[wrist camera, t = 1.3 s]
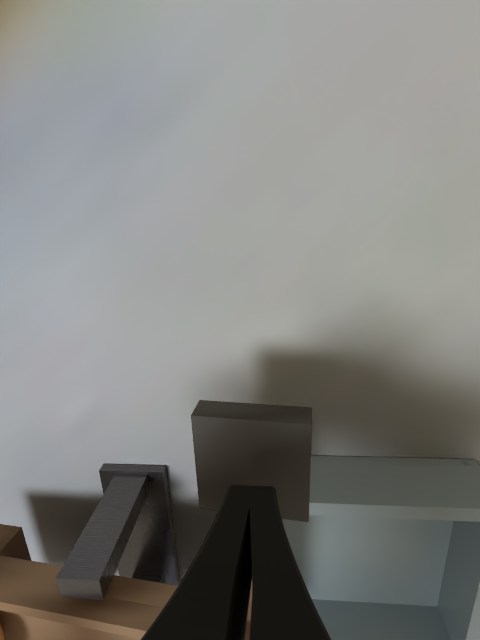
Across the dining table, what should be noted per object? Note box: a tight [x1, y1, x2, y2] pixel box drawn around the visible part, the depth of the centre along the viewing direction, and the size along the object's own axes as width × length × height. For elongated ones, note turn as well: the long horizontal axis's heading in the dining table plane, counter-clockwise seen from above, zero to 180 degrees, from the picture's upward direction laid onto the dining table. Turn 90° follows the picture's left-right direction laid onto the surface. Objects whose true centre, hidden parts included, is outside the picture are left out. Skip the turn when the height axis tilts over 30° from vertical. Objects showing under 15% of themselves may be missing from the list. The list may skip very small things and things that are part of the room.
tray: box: [283, 456, 480, 640], centre depth 21 cm, size 12×12×4 cm
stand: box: [56, 464, 180, 600], centre depth 20 cm, size 4×10×7 cm, turn 2°
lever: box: [0, 400, 312, 640], centre depth 16 cm, size 19×17×5 cm
